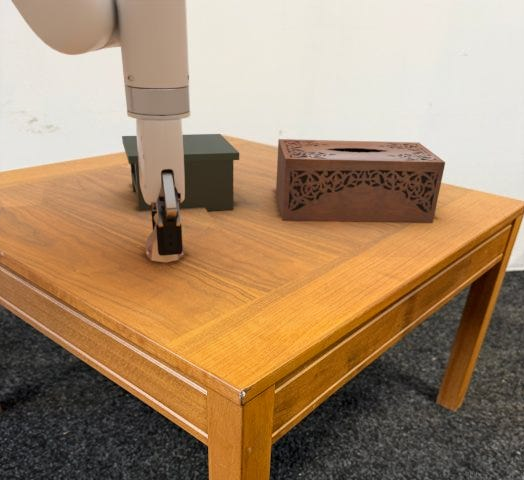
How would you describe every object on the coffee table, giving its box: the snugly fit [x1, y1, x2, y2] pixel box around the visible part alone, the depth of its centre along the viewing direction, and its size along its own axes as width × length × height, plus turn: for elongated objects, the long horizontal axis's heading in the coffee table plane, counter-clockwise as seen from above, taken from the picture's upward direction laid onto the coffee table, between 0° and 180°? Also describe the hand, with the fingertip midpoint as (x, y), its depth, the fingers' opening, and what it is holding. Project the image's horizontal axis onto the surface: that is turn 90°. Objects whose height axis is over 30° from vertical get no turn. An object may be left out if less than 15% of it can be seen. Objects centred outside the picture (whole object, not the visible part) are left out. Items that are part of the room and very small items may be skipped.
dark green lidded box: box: [121, 133, 240, 212], centre depth 97 cm, size 18×15×10 cm
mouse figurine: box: [145, 213, 185, 263], centre depth 76 cm, size 5×8×7 cm, turn 7°
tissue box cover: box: [275, 138, 446, 224], centre depth 96 cm, size 26×14×10 cm, turn 93°
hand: (167, 244), depth 75 cm, fingers closed on mouse figurine, 4 cm apart
